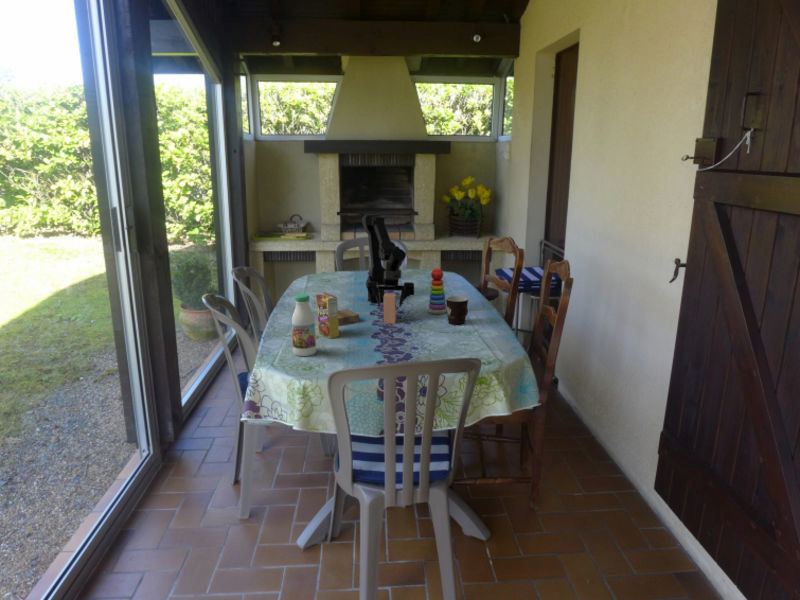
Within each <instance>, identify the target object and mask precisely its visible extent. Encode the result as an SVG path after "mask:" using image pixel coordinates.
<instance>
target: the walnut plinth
mask: <svg viewBox="0 0 800 600" xmlns="http://www.w3.org/2000/svg"><path fill="white" fill-rule="evenodd" d="M354 322H356V323H360V315H359V313H356V312H354V311H352V310H350V309H348V308H346V309H341V310H339V309H338V327H339V325H340V326H344V325H345V326H346V325H350V323H351V324H355V323H354Z"/></svg>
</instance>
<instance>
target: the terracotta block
mask: <svg viewBox="0 0 800 600" xmlns="http://www.w3.org/2000/svg"><path fill="white" fill-rule="evenodd" d="M383 297H384V302H383V324H396V322H397V293H384V296H383Z"/></svg>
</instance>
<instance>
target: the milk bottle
mask: <svg viewBox="0 0 800 600" xmlns="http://www.w3.org/2000/svg"><path fill="white" fill-rule="evenodd" d="M294 300H295V309H294V311H293V314H292V317H291V333H292V337H291V338H292V351H293V354H294V355H295V356H298V357H309V356H313V355H315V354H316V352H317V337H316V336H317V334H316V319H315V315H314V313H313V311H312V309H311V307H310V295H309V294H307V293H301V294H300V293H299V294H296V295H295V296H294Z"/></svg>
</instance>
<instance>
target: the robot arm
mask: <svg viewBox="0 0 800 600" xmlns="http://www.w3.org/2000/svg"><path fill="white" fill-rule="evenodd" d="M361 222H362V223H361V224H362V225H363V230H364V231H365V232H366V234H367V237H368V246H369V255H370V263H371V264H370V269H369V270H368V276H367V279H366V281H365V286H366V289H367V296H368V297H367V298H368V299H367V301H368V302H371V303H373V304H377V305H378V308H380V307H381V303H384V297H383V296H384V294H385V291H388V292H389V291H391V292H393V291H400V297H399V308H401V307H402V305H403V303H404V302H405V300H406V299H407V298H409V297H410V296H414V295H415V283H414V282H409V281H408V282H407V281H405V282H404V283H403V285H399V281H400V279H402V270H401V269H400V267H401V266H402V264H403V263H404V260H405V259H406V254H407V253H406V252H405V251H404V250H403V249H401V248H400V247H399V245H398V246H396V244H395V243H394V241H392V240H391V238H390V235H389V233H388V229H387V227H386V224H385V218H384V216H381V215H380V214H379V213H373V214H372V213H369V214H364V216H363V217H361ZM382 261H383V262H385V268H384V266H383V265H382Z"/></svg>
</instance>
